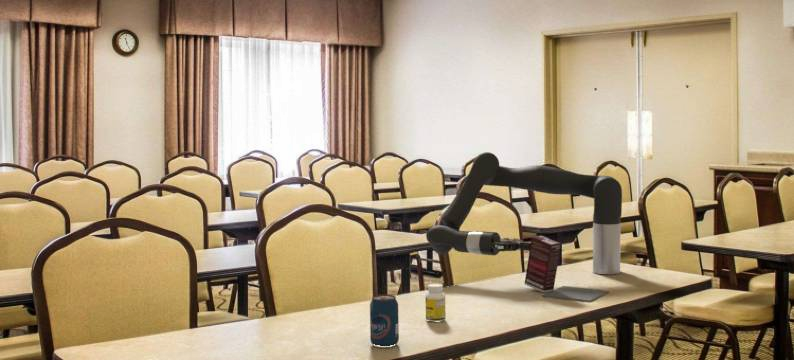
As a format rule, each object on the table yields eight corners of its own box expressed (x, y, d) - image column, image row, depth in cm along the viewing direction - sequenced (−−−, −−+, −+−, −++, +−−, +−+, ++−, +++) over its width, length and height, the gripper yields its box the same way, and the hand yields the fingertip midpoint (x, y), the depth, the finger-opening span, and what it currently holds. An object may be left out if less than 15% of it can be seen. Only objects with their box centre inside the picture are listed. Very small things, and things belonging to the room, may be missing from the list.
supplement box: (554, 291, 281) (562, 243, 278) (543, 293, 278) (551, 244, 274) (533, 282, 288) (541, 234, 284) (523, 284, 285) (530, 236, 281)
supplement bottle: (422, 319, 247) (422, 284, 246) (440, 317, 249) (439, 282, 248) (430, 323, 242) (430, 287, 241) (449, 321, 244) (448, 285, 243)
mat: (563, 287, 287) (563, 285, 287) (608, 292, 279) (608, 290, 279) (542, 296, 274) (542, 295, 274) (589, 302, 266) (589, 300, 265)
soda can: (366, 347, 219) (365, 299, 218) (376, 340, 226) (376, 293, 225) (392, 349, 217) (392, 300, 216) (402, 342, 223) (402, 295, 222)
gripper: (473, 234, 287) (523, 237, 277) (492, 229, 298) (541, 232, 288) (473, 257, 287) (523, 261, 278) (492, 251, 298) (541, 255, 289)
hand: (532, 246), depth 283 cm, fingers closed
